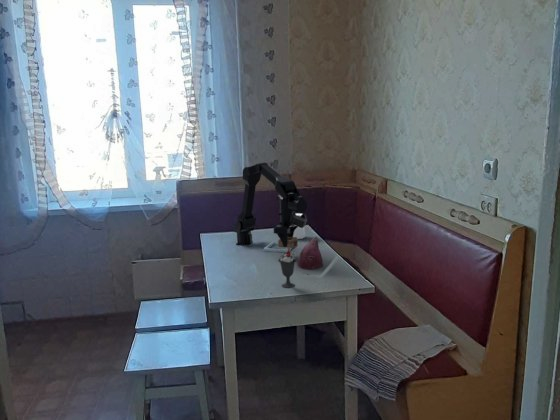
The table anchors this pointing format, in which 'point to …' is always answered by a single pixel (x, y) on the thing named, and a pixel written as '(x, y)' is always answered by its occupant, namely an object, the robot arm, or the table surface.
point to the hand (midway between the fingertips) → (287, 244)
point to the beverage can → (299, 230)
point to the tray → (274, 249)
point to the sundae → (287, 268)
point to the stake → (287, 251)
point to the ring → (289, 242)
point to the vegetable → (310, 256)
